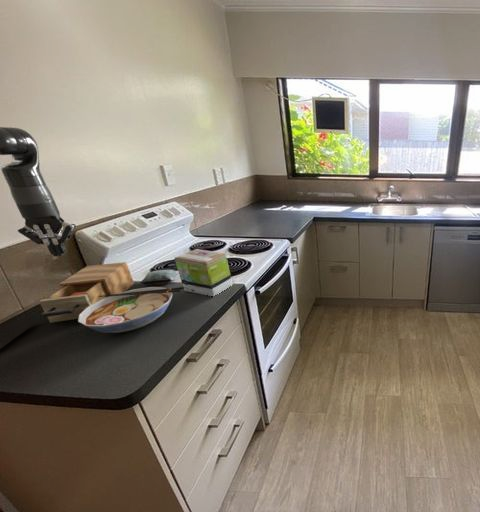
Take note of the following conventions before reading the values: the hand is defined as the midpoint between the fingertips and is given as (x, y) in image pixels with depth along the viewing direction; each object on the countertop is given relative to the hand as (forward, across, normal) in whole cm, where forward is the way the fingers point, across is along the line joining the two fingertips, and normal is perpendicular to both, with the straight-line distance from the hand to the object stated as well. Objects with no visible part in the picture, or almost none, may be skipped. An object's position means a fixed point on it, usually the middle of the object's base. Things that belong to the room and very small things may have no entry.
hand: (60, 255), depth 91 cm
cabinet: (+21, 0, -12) cm, 24 cm away
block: (+19, 0, 0) cm, 19 cm away
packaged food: (+21, -17, -18) cm, 33 cm away
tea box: (+21, -37, -5) cm, 43 cm away
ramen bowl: (+21, -20, +14) cm, 32 cm away
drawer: (+20, 0, +1) cm, 20 cm away
